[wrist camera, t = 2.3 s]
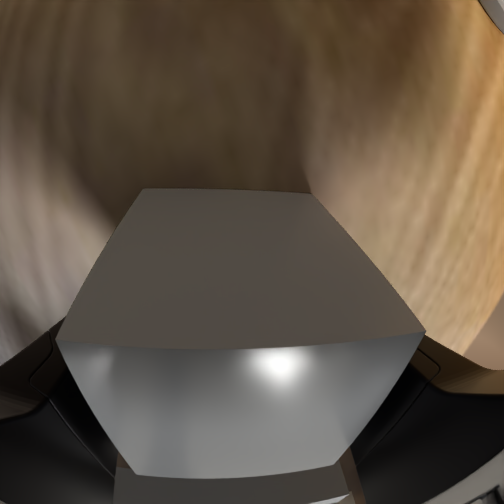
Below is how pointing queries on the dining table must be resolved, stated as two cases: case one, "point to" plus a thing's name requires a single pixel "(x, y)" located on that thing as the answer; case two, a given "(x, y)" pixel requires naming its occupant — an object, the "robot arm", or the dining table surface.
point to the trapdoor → (235, 488)
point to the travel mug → (495, 11)
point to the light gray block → (234, 335)
